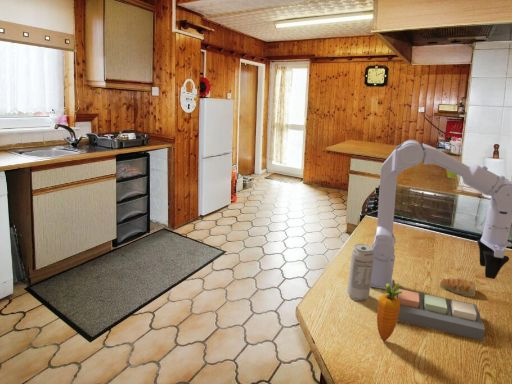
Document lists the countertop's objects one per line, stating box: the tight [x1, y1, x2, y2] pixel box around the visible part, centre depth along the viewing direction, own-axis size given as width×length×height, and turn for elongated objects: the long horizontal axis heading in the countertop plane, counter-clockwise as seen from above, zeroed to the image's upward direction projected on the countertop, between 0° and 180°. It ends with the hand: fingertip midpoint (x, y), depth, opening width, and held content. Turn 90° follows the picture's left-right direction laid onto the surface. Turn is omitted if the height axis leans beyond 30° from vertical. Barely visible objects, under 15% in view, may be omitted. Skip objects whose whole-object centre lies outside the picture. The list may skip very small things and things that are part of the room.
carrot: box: [376, 283, 402, 342], centre depth 84 cm, size 5×5×15 cm
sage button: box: [423, 293, 447, 314], centre depth 95 cm, size 5×5×3 cm
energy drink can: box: [346, 243, 374, 302], centre depth 103 cm, size 6×6×15 cm
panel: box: [391, 286, 486, 341], centre depth 96 cm, size 21×12×3 cm, turn 69°
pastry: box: [439, 277, 476, 298], centre depth 110 cm, size 9×7×4 cm
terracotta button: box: [398, 288, 420, 308], centre depth 98 cm, size 5×5×3 cm
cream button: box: [450, 299, 477, 321], centre depth 93 cm, size 5×5×3 cm
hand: (487, 271), depth 101 cm, fingers open, 7 cm apart
